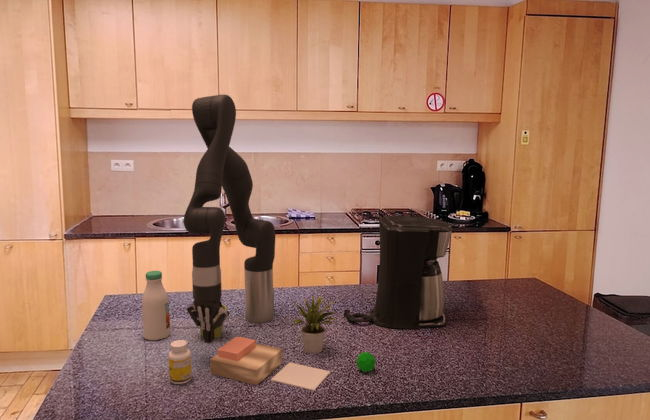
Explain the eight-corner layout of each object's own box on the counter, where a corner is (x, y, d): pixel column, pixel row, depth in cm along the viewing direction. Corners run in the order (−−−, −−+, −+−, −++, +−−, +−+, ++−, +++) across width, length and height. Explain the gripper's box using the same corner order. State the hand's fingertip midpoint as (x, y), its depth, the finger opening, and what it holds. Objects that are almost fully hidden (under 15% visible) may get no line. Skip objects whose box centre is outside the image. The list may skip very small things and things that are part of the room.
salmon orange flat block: (237, 343, 139) (237, 336, 138) (255, 347, 136) (255, 340, 136) (217, 356, 131) (217, 349, 130) (237, 361, 128) (237, 353, 128)
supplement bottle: (172, 374, 129) (170, 338, 128) (193, 373, 130) (192, 338, 128) (167, 385, 124) (165, 348, 122) (189, 384, 124) (188, 347, 123)
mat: (289, 363, 136) (289, 362, 136) (330, 372, 131) (330, 371, 131) (271, 380, 127) (271, 379, 127) (314, 390, 122) (314, 389, 122)
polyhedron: (374, 375, 129) (374, 358, 129) (355, 374, 130) (355, 357, 129) (375, 366, 134) (376, 350, 133) (357, 365, 135) (357, 348, 134)
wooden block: (238, 353, 142) (238, 339, 141) (282, 362, 136) (282, 348, 135) (210, 373, 130) (209, 359, 129) (256, 385, 124) (256, 370, 124)
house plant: (300, 367, 133) (300, 309, 131) (277, 347, 145) (276, 293, 142) (345, 354, 141) (345, 299, 138) (319, 337, 152) (319, 285, 150)
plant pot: (233, 331, 156) (232, 305, 154) (216, 344, 147) (216, 316, 146) (206, 327, 159) (205, 301, 157) (189, 339, 150) (188, 312, 149)
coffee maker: (460, 323, 163) (466, 222, 158) (375, 342, 149) (378, 231, 143) (418, 301, 183) (421, 211, 178) (339, 316, 169) (341, 218, 164)
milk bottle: (162, 342, 148) (158, 277, 145) (138, 339, 150) (134, 275, 146) (174, 331, 156) (172, 269, 152) (152, 329, 157) (148, 268, 154)
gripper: (235, 280, 135) (237, 341, 138) (195, 273, 140) (197, 332, 143) (219, 288, 128) (220, 352, 131) (177, 281, 133) (180, 342, 136)
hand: (208, 341), depth 137 cm, fingers closed
